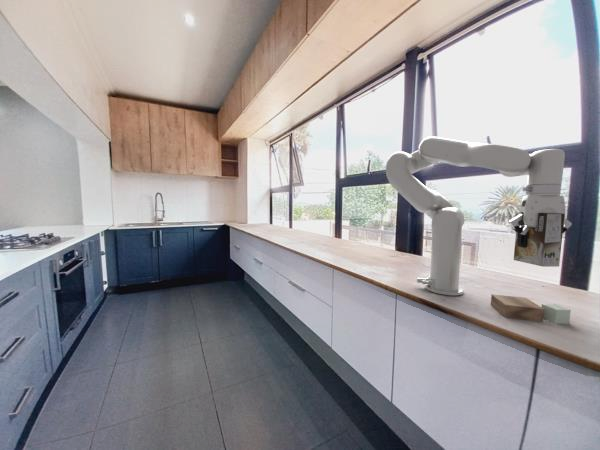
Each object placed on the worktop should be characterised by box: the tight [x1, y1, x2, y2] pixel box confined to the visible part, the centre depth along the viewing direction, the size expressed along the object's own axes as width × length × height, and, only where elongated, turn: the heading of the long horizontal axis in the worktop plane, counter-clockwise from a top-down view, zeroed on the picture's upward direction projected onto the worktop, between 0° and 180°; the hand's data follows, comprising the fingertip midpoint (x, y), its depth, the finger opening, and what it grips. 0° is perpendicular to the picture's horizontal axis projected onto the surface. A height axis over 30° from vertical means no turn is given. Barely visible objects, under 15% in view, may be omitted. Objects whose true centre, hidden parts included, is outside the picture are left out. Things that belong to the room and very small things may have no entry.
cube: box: [541, 303, 572, 325], centre depth 69 cm, size 4×4×4 cm
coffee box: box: [513, 211, 566, 268], centre depth 76 cm, size 9×6×16 cm
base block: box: [490, 293, 544, 323], centre depth 73 cm, size 9×9×4 cm
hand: (536, 247), depth 76 cm, fingers closed on coffee box, 7 cm apart
